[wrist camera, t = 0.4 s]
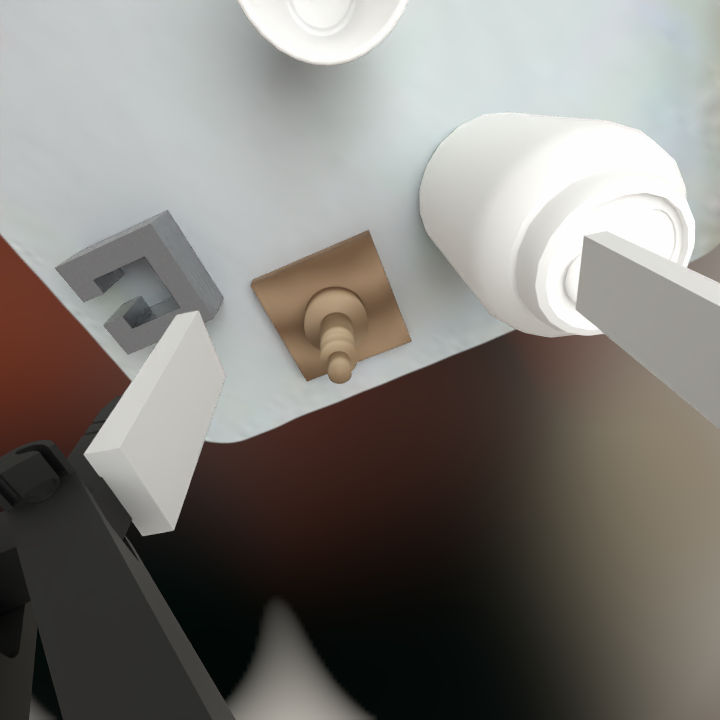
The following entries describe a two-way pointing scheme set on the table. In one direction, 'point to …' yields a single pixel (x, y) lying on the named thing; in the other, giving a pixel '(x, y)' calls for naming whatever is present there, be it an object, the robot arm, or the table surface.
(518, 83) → the table surface
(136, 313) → the grey split frame
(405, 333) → the post fixture
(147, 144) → the table surface
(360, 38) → the cup
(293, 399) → the table surface
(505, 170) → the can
